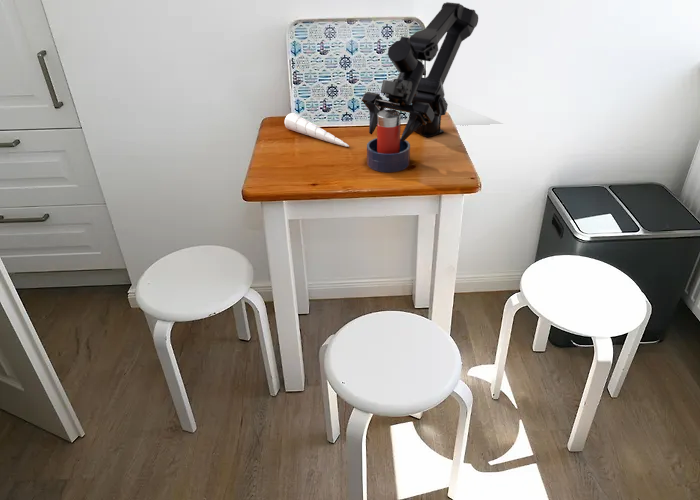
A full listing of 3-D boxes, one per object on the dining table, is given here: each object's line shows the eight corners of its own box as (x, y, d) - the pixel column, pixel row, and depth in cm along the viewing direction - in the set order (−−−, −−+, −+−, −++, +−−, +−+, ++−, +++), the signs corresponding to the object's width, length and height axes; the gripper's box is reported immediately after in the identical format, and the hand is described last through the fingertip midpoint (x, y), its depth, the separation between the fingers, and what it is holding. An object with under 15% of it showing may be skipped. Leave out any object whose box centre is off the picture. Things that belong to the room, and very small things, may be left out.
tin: (383, 154, 155) (383, 108, 148) (403, 158, 153) (404, 111, 145) (373, 163, 151) (373, 115, 144) (393, 167, 148) (394, 119, 141)
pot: (392, 150, 158) (392, 133, 156) (418, 164, 151) (419, 147, 148) (358, 160, 154) (358, 143, 151) (383, 176, 146) (383, 158, 143)
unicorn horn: (339, 152, 158) (339, 136, 155) (283, 130, 172) (282, 114, 169) (351, 147, 161) (351, 130, 158) (295, 125, 175) (294, 110, 172)
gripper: (365, 60, 145) (342, 116, 144) (432, 71, 137) (408, 131, 135) (380, 82, 155) (359, 135, 154) (444, 93, 146) (422, 149, 145)
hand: (385, 137), depth 147 cm, fingers open, 9 cm apart
